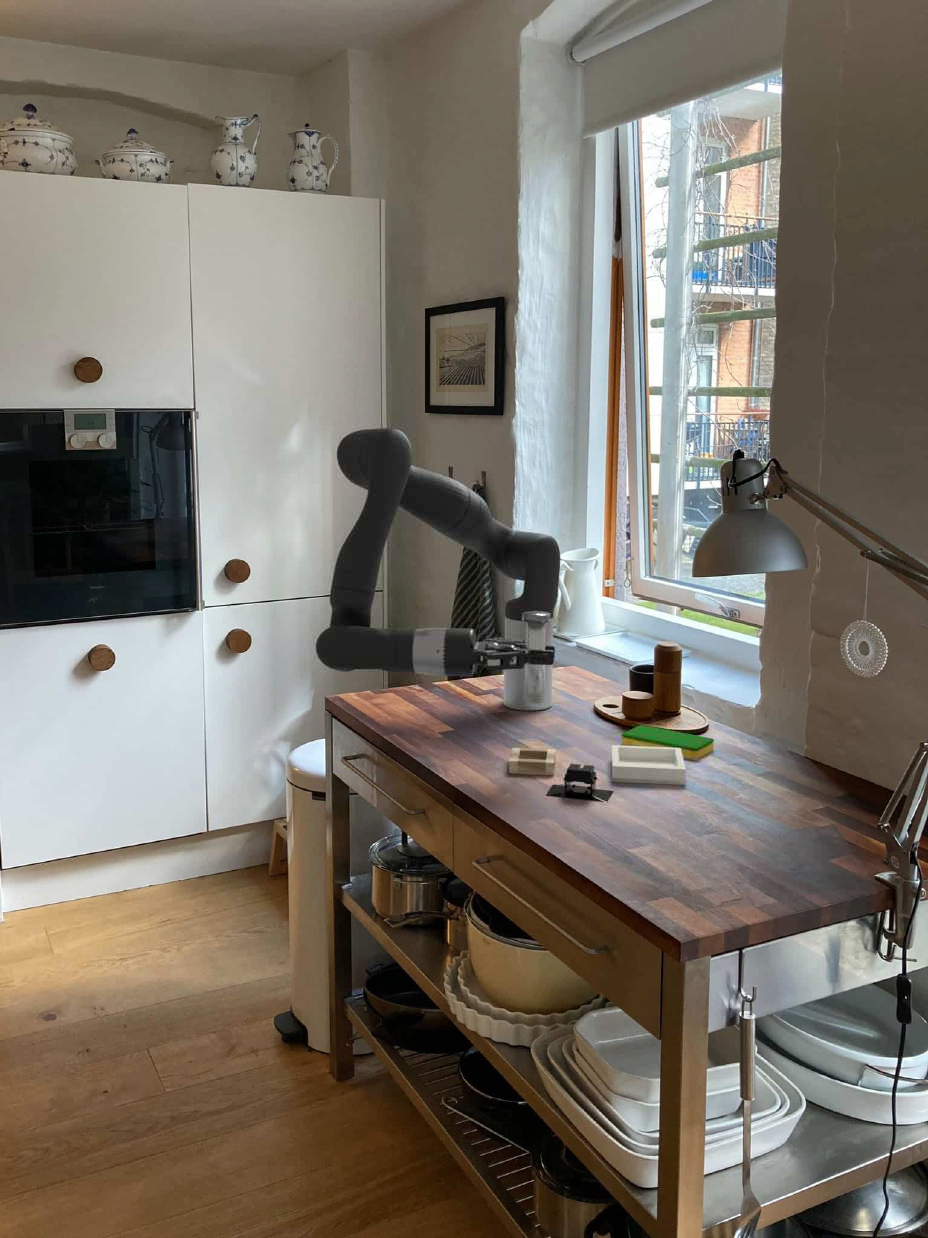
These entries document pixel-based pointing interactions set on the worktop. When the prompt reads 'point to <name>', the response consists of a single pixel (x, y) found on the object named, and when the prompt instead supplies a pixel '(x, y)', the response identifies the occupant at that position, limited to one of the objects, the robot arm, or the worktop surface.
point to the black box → (580, 792)
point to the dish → (648, 765)
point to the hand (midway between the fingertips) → (553, 655)
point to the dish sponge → (668, 741)
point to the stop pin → (535, 642)
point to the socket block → (532, 761)
